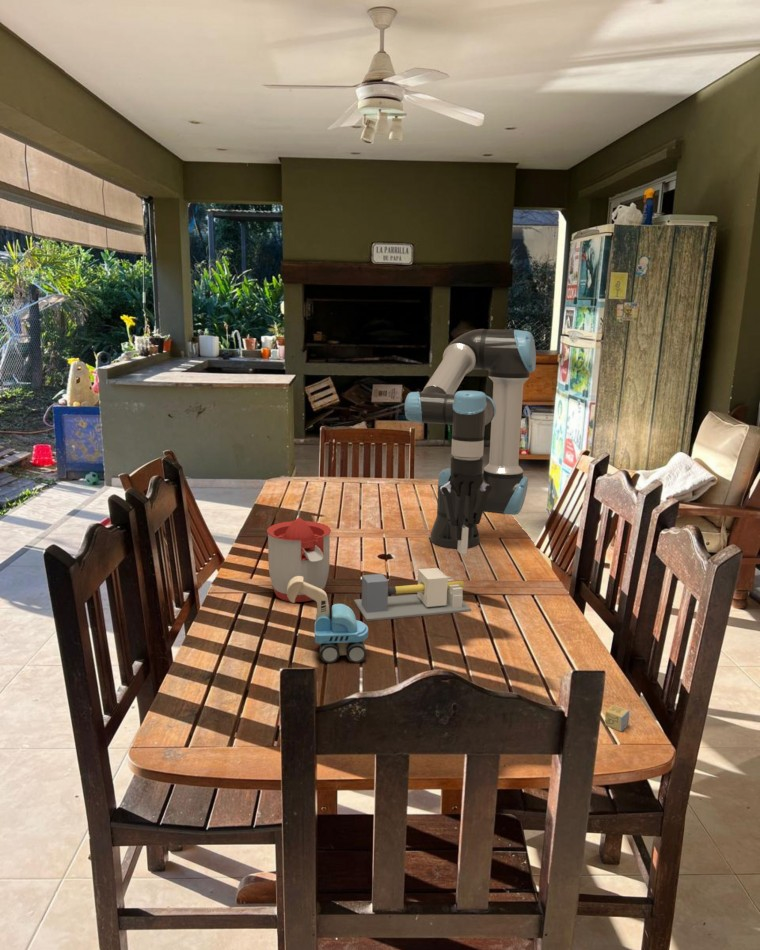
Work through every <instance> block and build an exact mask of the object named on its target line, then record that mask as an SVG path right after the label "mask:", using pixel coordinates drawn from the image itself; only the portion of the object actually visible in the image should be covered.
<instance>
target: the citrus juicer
mask: <svg viewBox="0 0 760 950" xmlns="http://www.w3.org/2000/svg"><path fill="white" fill-rule="evenodd" d="M266 533H267V542H268V543H267V545H268V546H267V549H268V551H267V552H268V553H267V554H268V555H267V557H268V572H269V578H270V581H271V584H272V588H273V591H274V594H275V595H276V597H277V598H279V599H280V600H282V601H286V602H290V603H292V602H291V601H290V600H289V599H288V597H287V586H288V583H289V581H290V580H291V579H292V578H294V577H296V576H302V577H304V579H303V581H304V582H306V583H308V584H311V585H313V586H315V587H318V588H320V589H322V590H324V591H325V588H326V584H327V581H328V578H329V573H330V543H331V541H330V538H331V537H330V534H331V533H332V530H331V527H330V526H328V525H327V524H324V523H321V522H315V521H310V520H309V521H308V520H304V519H302V518H301V517H297V518H296V519H295V520H292V521H291V520H290V521H283V522H279V523H276V524H273V525H271V526H269V527H268V528H267V530H266ZM309 601H310V602H311V601H314V600H313V599H311V598H310V597H308V596H306V595H304V594H302V593H300V592H299V593H298V595H297V597H296V599H295V603H301V602H309Z"/></svg>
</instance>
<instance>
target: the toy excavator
mask: <svg viewBox="0 0 760 950" xmlns="http://www.w3.org/2000/svg"><path fill="white" fill-rule="evenodd" d="M303 579H304V577H302V576H296V577H294V578H292V579H291V580H290V581H289V583H288V586H287V597H288V599H289V600H290V601H291V602H290V603H293V604H294V603H296V602H295V599H296V597H297V595H298V593H299V592H300V593H302V594H304V595H306V596H308V597H310V598H311V599H313V600H312V601H315V602H316V613H315V614H316V615H315V622H314V643H316V644H319V650H318V652H319V657H320V659H321V661H322V662H323V663H325V664H326V663H327V664H332V663H335V662H337V660H338V659H339V657H340V656H346V658H347V659H348V661H349V662H352V663H354V664H359V663H362V662H363V661H365V658H366V656H367V648H366V645H365V641H366V639H368V637H369V627H368V625H367V624H366V623H364V622H363V621H361V620H357V618H356V614H355V612H354V611H353V609H352V608H350V606H348V605H347V604H344V603H334V604H333V605H332V606H331V613H330V608H329V607H330V606H329V599H328V594H327V592H326V591H325V589H324V590H322V589H320V588H318V587H315V586H313V585H311V584H308V583H306V582H304V581H303Z"/></svg>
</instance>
